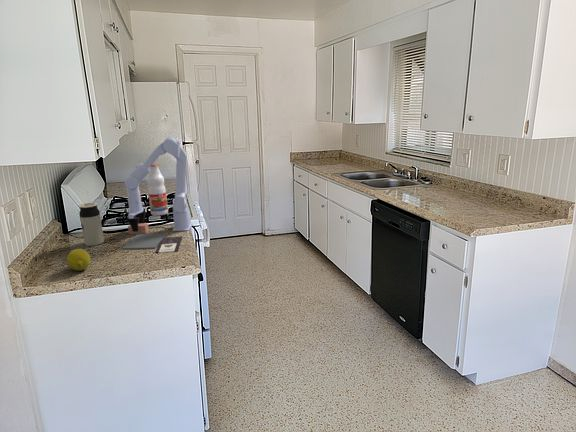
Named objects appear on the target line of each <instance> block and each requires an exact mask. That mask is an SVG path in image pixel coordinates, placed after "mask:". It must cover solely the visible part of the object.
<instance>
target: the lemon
mask: <svg viewBox="0 0 576 432" xmlns="http://www.w3.org/2000/svg"><path fill="white" fill-rule="evenodd" d="M66 263H67V266H68V267H69V268H70V270H73V271H76V272H77V271H78V272H79V271H80V272H81V271H85V270H86V269H88V268H89V266H90V264H91V256H90V254H89V253H88V251H86V250H85V249H82V248H75V249H73V250H71V251H70V252H69V253H68V254H67V257H66Z"/></svg>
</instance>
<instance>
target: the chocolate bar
mask: <svg viewBox="0 0 576 432" xmlns="http://www.w3.org/2000/svg"><path fill="white" fill-rule="evenodd" d="M182 240H183V236H182V235H181V236H169V237H167V236H166V237H165V238H163V239H162V240H161V241H160V243H159V245H158V246H157V247H156V250H155V254H164V253H165V254H166V253H175V252H179V249H180V246H181V242H182Z"/></svg>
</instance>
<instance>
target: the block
mask: <svg viewBox="0 0 576 432" xmlns="http://www.w3.org/2000/svg"><path fill="white" fill-rule="evenodd" d="M127 229H128V234H129V235H137V234H148V232H149V231H150V228H149V223H147V222H144V223H139V224H138V231H137V232H133V230H132V228H131V225H130V224H129V225H128V226H127Z"/></svg>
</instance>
